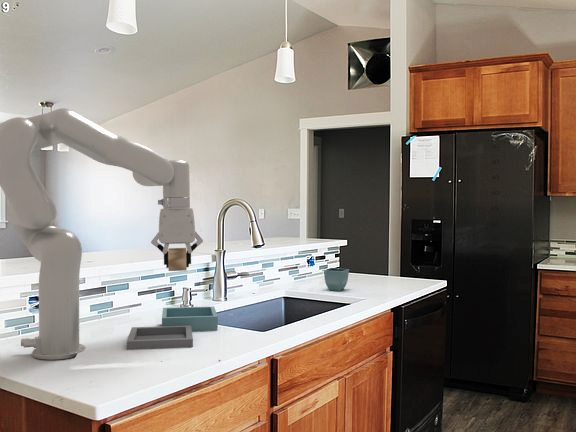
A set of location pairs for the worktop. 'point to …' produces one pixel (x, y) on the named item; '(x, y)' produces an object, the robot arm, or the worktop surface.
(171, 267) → the oak block
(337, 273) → the flower pot
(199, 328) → the tray
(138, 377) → the worktop surface
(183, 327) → the bin
